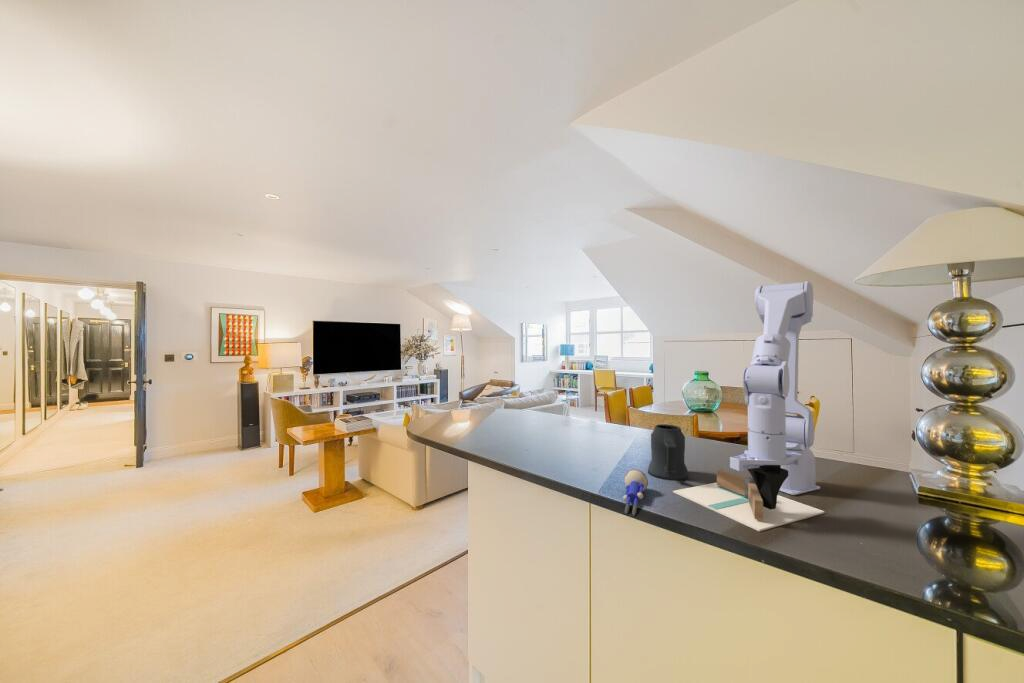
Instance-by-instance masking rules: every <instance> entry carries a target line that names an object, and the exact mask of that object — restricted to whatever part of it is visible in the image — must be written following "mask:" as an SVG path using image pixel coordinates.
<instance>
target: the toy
mask: <svg viewBox="0 0 1024 683" xmlns="http://www.w3.org/2000/svg"><path fill="white" fill-rule="evenodd" d="M624 484H625V494H624V495H623V497H622V499H623V500H624V502H625V508H624V514H625V515H628V514H629V511H630V507H631V504H633V505H632V511H631V513H632V516H633V517H634V516H636V515H637V511H638V510H637V509H638V502H639V500H642V499H643V498H644V494H643V492H645V491H646V490H647V487H648V484H649V480H648V477H647V476H646V474H645V473H644V472H643V471H642V470H640V469H630V470H629V471H627V472H626V474H625V475H624Z"/></svg>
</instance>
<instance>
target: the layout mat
mask: <svg viewBox="0 0 1024 683" xmlns="http://www.w3.org/2000/svg"><path fill="white" fill-rule="evenodd" d="M672 493H674V494H676V495H678V496H680V497H682V498H685V499H687V500H688V501H691V502H694V503H696V504H698V505H700V506H702V507H704V508H706V509H709V510H711V511H713V512H715V513H717V514H720V515H722V516H724V517H726V518H729V519H730V520H732V521H735V522H737V523H740V524H741V525H744V526H747V527H749V528H751V529H753V530H755V531H757V532H762V531H766V530H769V529H772V528H777V527H780V526H783V525H787V524H791V523H794V522H798V521H801V520H805V519H808V518H812V517H815V516H818V515H822V514H825V512H826V511H825V510H822V509H819V508H816V507H813V506H811V505H808V504H804V503H801V502H798V501H795V500H793V499H790V498H788V497H784V496H782V495H779V494H778V495H777V504H776V508H775V509H771V510H770V509H768V508H766V507H763V520H758V519H755V518H754V515H753V512H752V509H751V506H750V503H749V500H748V499H746V498H745V496H744V495H741V494H739V493H736V492H733V491H731V490H728V489H726V488H723V487H720V486H718V485H717V481H716V482H713V483H712V482H711V483H707V484H701V485H697V486H692V487H691V486H690V487H685V488H680V489H676V490H672Z"/></svg>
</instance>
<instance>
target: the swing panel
mask: <svg viewBox="0 0 1024 683" xmlns="http://www.w3.org/2000/svg"><path fill="white" fill-rule="evenodd" d="M748 500H749V503H750V506H751V509H752V512H753V515H754V518H755V519H758V520H763V500H762V498H761V496H760V493H759V491H758V489H757V486H756V484H752V483H748Z"/></svg>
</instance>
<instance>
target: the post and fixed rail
mask: <svg viewBox="0 0 1024 683" xmlns="http://www.w3.org/2000/svg"><path fill="white" fill-rule="evenodd" d="M716 482H717V485H718V486H720V487H723V488H726V489H728V490H731V491H733V492H736V493H739V494H741V495H744V496H745V498H746V499H748V483H752V484H755V481H754V479H753V477H752V476H751V477H747V476H742V475H738V474H735V473H732V472H730V471H727V470H723V469H722V468H721V469H717V470H716Z"/></svg>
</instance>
